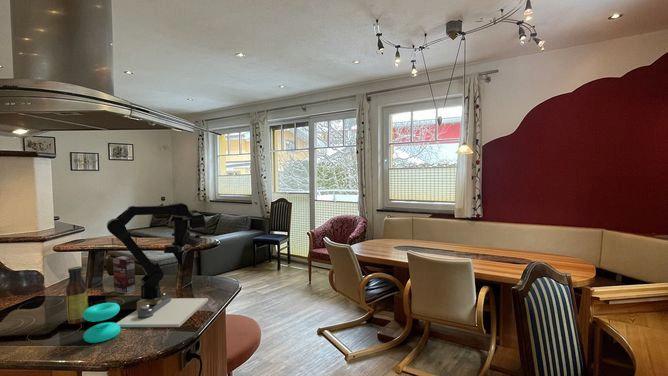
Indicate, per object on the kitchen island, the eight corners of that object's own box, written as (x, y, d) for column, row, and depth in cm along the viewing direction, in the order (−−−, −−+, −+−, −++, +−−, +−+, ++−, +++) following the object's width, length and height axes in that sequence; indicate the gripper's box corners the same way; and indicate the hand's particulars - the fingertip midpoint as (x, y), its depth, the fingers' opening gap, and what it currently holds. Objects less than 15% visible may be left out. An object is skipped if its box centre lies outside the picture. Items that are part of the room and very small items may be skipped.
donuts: (80, 307, 108) (116, 299, 115) (81, 337, 108) (116, 327, 115) (85, 315, 101) (123, 306, 108) (86, 347, 101) (123, 336, 108)
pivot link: (148, 318, 119) (148, 308, 119) (134, 318, 120) (134, 308, 119) (173, 300, 137) (173, 291, 137) (161, 300, 137) (161, 291, 137)
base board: (114, 327, 115) (114, 324, 115) (154, 300, 140) (154, 298, 140) (179, 327, 115) (178, 324, 115) (208, 300, 140) (207, 298, 140)
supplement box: (113, 292, 152) (112, 258, 151) (123, 289, 156) (122, 255, 156) (126, 294, 149) (125, 259, 148) (136, 290, 153) (135, 257, 153)
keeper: (136, 312, 126) (136, 301, 125) (141, 309, 129) (141, 299, 128) (157, 312, 125) (157, 301, 125) (161, 309, 128) (161, 299, 128)
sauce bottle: (93, 318, 122) (91, 266, 122) (75, 326, 116) (73, 270, 116) (80, 316, 125) (79, 264, 124) (62, 323, 119) (60, 269, 118)
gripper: (188, 233, 140) (189, 270, 140) (206, 227, 158) (207, 259, 159) (162, 233, 140) (163, 270, 140) (183, 227, 159) (184, 259, 159)
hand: (181, 264), depth 150 cm, fingers closed
